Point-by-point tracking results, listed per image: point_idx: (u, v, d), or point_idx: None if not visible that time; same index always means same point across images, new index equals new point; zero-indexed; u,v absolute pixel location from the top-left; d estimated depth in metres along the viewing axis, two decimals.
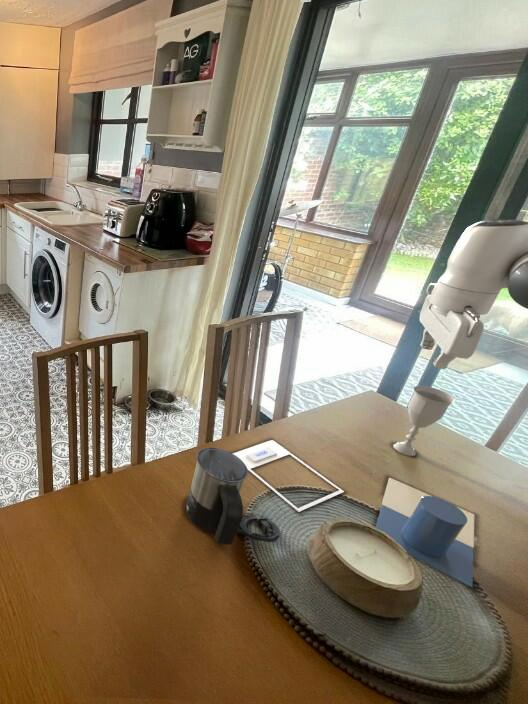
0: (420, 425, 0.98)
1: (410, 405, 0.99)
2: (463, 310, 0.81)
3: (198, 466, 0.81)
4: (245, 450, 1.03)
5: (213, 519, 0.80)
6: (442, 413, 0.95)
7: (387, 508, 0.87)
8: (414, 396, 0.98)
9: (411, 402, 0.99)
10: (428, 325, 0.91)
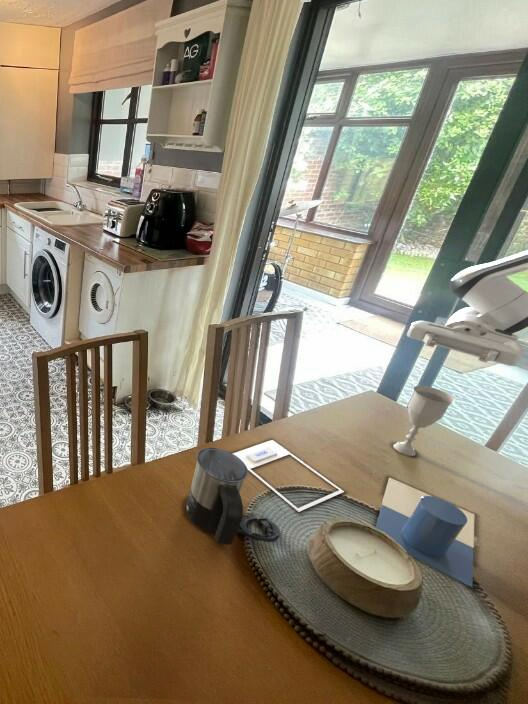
0: (420, 425, 0.98)
1: (410, 405, 0.99)
2: None
3: (198, 466, 0.81)
4: (245, 450, 1.03)
5: (213, 519, 0.80)
6: (442, 413, 0.95)
7: (387, 508, 0.87)
8: (414, 396, 0.98)
9: (411, 402, 0.99)
10: None
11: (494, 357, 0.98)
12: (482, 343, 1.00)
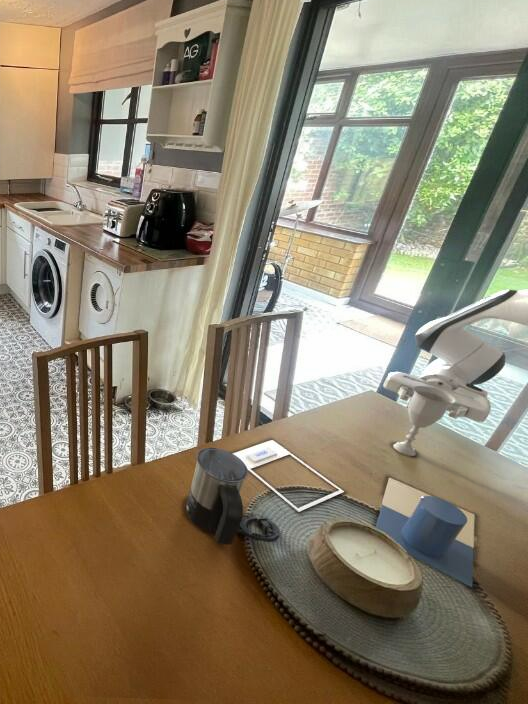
0: (420, 425, 0.98)
1: (410, 405, 0.99)
2: None
3: (198, 466, 0.81)
4: (245, 450, 1.03)
5: (213, 519, 0.80)
6: (442, 413, 0.95)
7: (387, 508, 0.87)
8: (414, 396, 0.98)
9: (411, 402, 0.99)
10: None
11: (463, 413, 1.02)
12: None
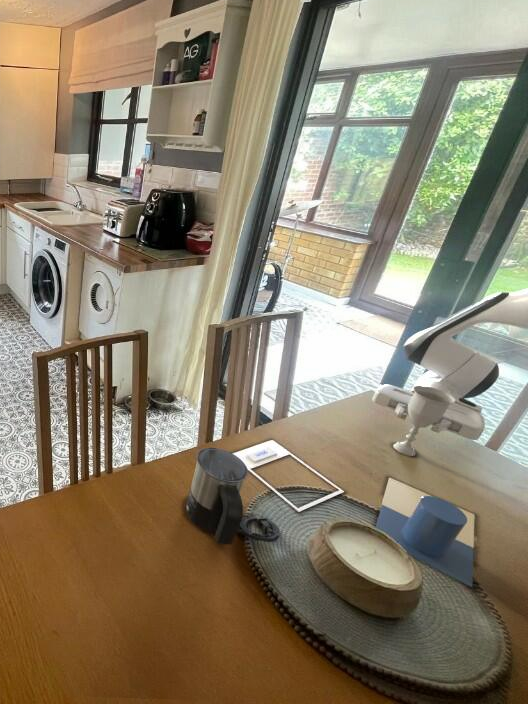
0: (420, 425, 0.99)
1: (410, 405, 0.99)
2: None
3: (198, 466, 0.81)
4: (245, 450, 1.03)
5: (213, 519, 0.80)
6: (442, 413, 0.95)
7: (387, 508, 0.87)
8: (414, 396, 0.98)
9: (411, 402, 0.99)
10: None
11: (446, 427, 0.98)
12: (445, 414, 0.99)
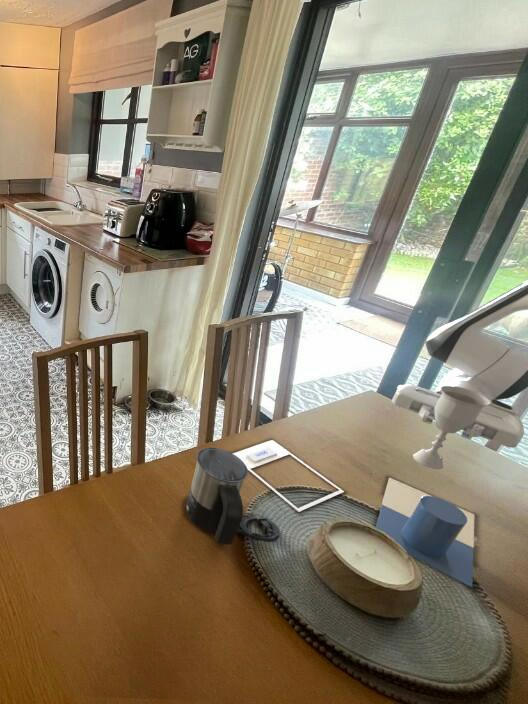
0: (449, 430, 0.87)
1: (437, 408, 0.87)
2: None
3: (198, 466, 0.81)
4: (245, 450, 1.03)
5: (213, 519, 0.80)
6: (475, 417, 0.83)
7: (387, 508, 0.87)
8: (442, 397, 0.86)
9: (438, 404, 0.87)
10: None
11: (479, 433, 0.86)
12: (477, 418, 0.87)
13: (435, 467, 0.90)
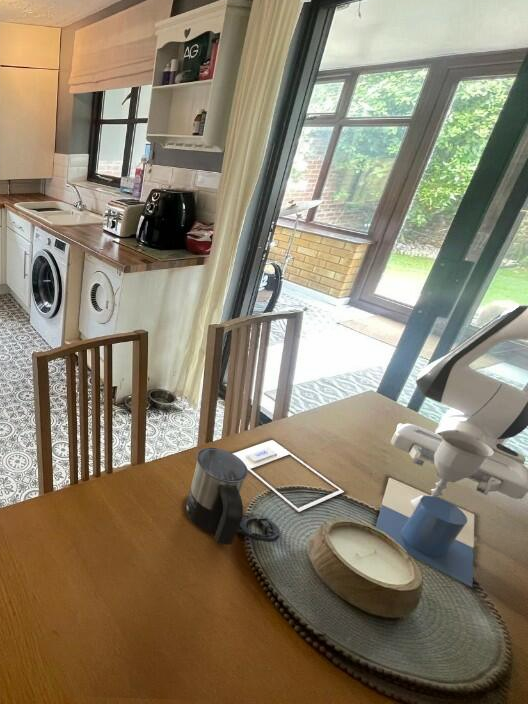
0: (450, 479, 0.82)
1: (437, 455, 0.82)
2: None
3: (198, 466, 0.81)
4: (245, 450, 1.03)
5: (213, 519, 0.80)
6: (477, 467, 0.79)
7: (387, 508, 0.87)
8: (442, 445, 0.81)
9: (438, 451, 0.82)
10: None
11: (495, 487, 0.79)
12: (481, 466, 0.82)
13: None
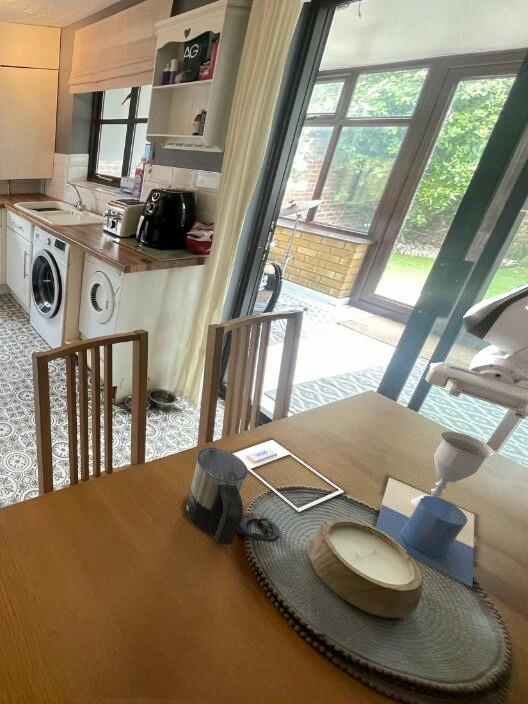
0: (450, 479, 0.82)
1: (437, 455, 0.82)
2: None
3: (198, 466, 0.81)
4: (245, 450, 1.03)
5: (213, 519, 0.80)
6: (477, 467, 0.79)
7: (387, 508, 0.87)
8: (442, 445, 0.81)
9: (438, 451, 0.82)
10: None
11: None
12: (517, 393, 0.84)
13: None
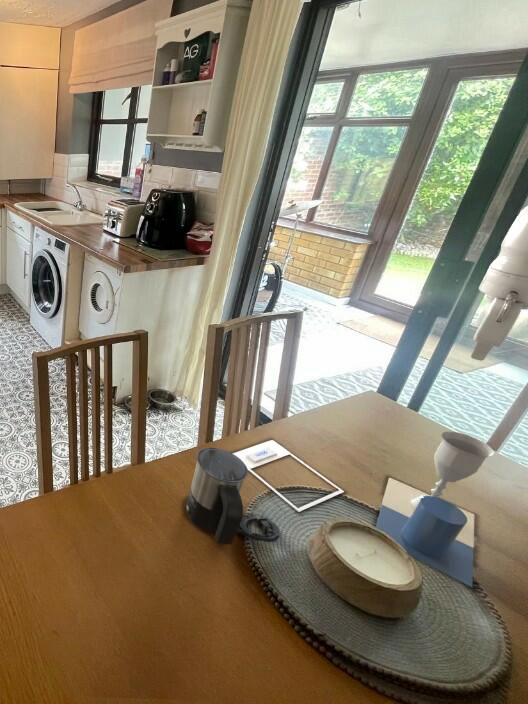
0: (450, 479, 0.82)
1: (437, 455, 0.82)
2: (507, 296, 0.75)
3: (198, 466, 0.81)
4: (245, 450, 1.03)
5: (213, 519, 0.80)
6: (477, 467, 0.79)
7: (387, 508, 0.87)
8: (442, 445, 0.81)
9: (438, 451, 0.82)
10: None
11: None
12: None
13: None
